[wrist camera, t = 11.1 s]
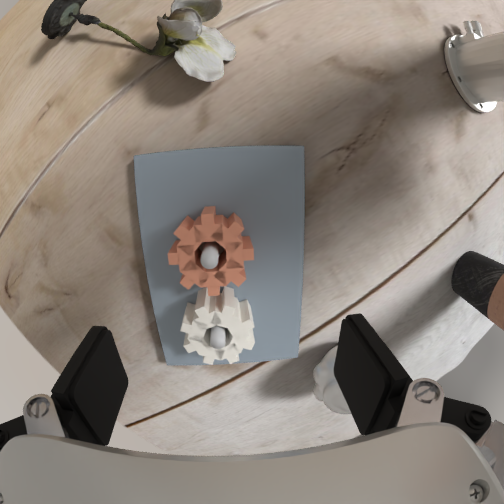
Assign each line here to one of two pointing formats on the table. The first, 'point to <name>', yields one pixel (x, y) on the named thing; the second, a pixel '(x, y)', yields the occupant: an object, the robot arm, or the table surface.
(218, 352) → the cream gear
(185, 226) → the terracotta gear
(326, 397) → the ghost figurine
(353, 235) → the table surface
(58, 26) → the artificial flower
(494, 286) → the travel mug
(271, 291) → the gear board
